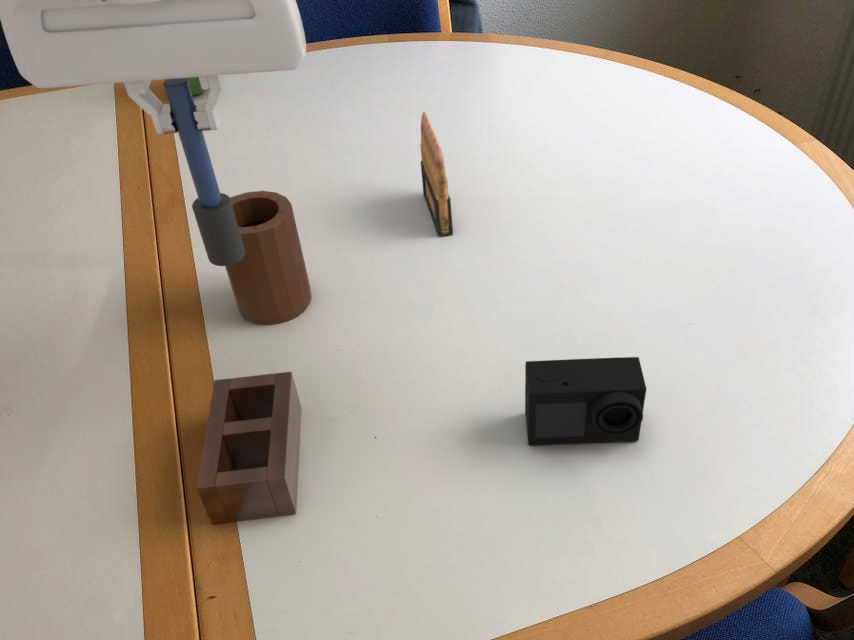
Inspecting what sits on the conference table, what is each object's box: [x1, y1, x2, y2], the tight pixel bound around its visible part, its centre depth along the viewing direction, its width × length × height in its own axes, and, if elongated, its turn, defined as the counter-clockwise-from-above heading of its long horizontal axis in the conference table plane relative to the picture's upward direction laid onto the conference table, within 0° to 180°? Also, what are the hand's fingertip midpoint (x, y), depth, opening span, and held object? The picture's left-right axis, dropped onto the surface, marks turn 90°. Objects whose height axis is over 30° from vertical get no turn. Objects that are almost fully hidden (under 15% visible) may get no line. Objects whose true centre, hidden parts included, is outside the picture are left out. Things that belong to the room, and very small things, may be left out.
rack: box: [195, 371, 302, 525], centre depth 72 cm, size 7×13×5 cm, turn 7°
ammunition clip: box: [420, 111, 454, 238], centre depth 99 cm, size 11×2×12 cm, turn 13°
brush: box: [162, 78, 245, 267], centre depth 65 cm, size 3×3×16 cm
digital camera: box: [524, 356, 647, 446], centre depth 72 cm, size 10×5×7 cm, turn 91°
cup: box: [224, 190, 312, 326], centre depth 87 cm, size 8×8×12 cm
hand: (189, 129), depth 62 cm, fingers closed on brush, 2 cm apart
